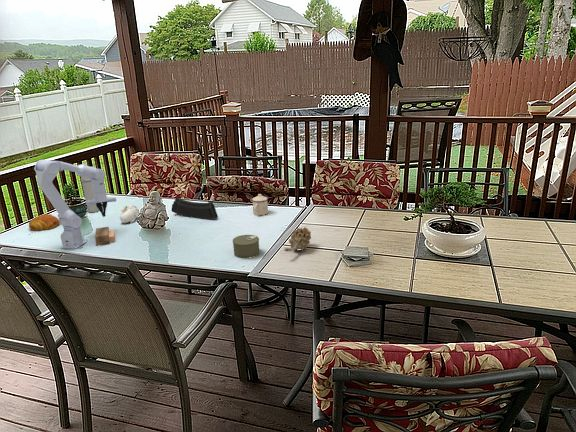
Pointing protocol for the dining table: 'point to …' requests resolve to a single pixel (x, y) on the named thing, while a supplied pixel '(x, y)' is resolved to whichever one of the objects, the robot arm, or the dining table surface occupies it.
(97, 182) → the robot arm
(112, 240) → the peach rectangular prism
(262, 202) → the teacup with lid
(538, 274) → the dining table surface
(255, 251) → the can
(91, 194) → the water bottle
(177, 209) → the magazine
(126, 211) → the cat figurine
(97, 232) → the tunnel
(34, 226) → the croissant
